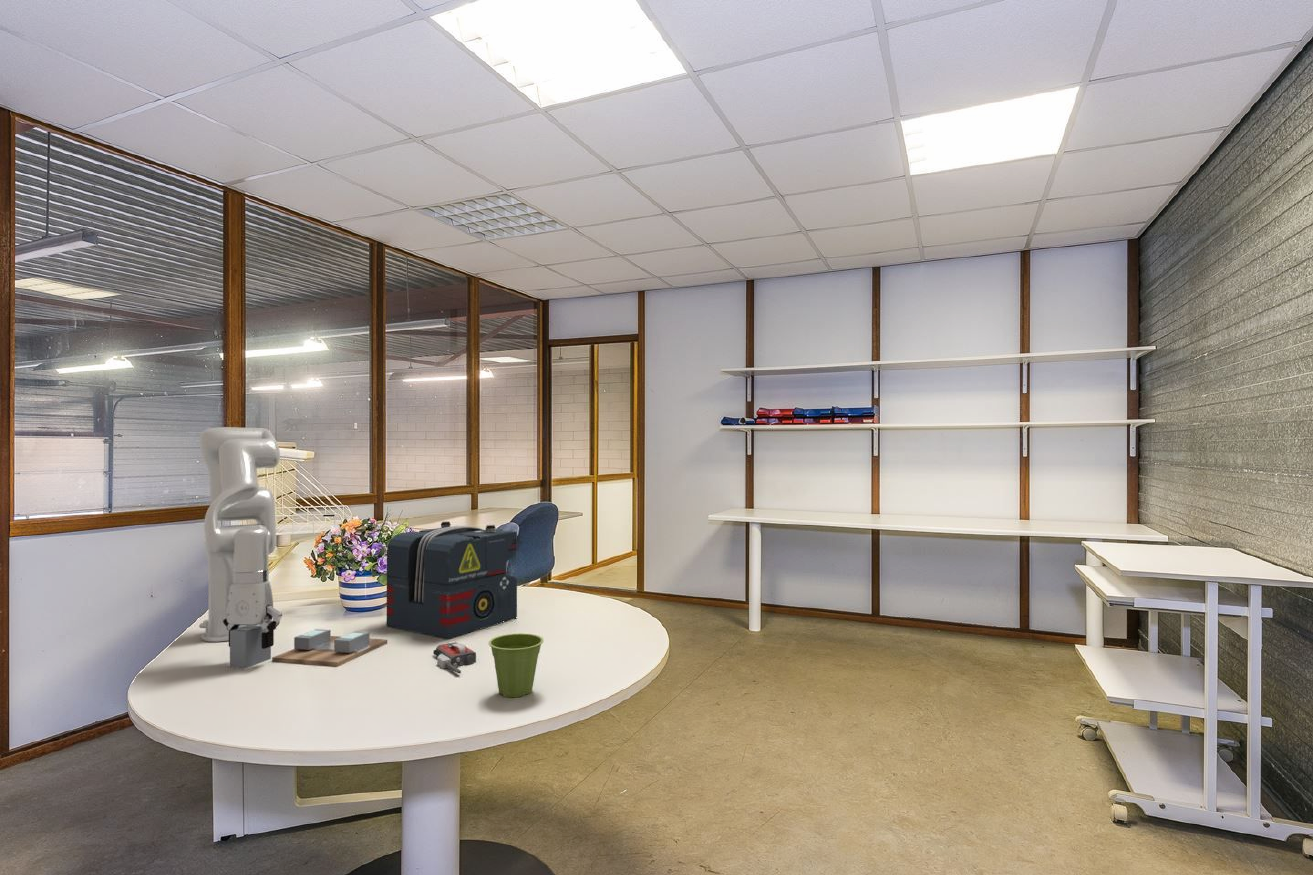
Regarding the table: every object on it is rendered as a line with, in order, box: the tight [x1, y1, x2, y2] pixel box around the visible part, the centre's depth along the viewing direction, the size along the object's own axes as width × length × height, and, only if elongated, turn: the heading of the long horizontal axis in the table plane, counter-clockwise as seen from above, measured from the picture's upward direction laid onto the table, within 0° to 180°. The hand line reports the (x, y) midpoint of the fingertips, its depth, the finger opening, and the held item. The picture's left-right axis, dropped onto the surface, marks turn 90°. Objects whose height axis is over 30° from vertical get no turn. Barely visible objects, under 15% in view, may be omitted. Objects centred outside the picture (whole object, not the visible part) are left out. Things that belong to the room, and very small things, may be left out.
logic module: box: [229, 623, 272, 670], centre depth 167 cm, size 4×8×9 cm, turn 168°
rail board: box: [271, 628, 388, 667], centre depth 175 cm, size 19×20×5 cm
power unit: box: [386, 520, 518, 640], centre depth 206 cm, size 28×28×30 cm
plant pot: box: [488, 632, 545, 698], centre depth 146 cm, size 12×12×11 cm
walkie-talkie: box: [432, 641, 477, 675], centre depth 166 cm, size 9×4×20 cm
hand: (251, 646), depth 166 cm, fingers open, 9 cm apart
